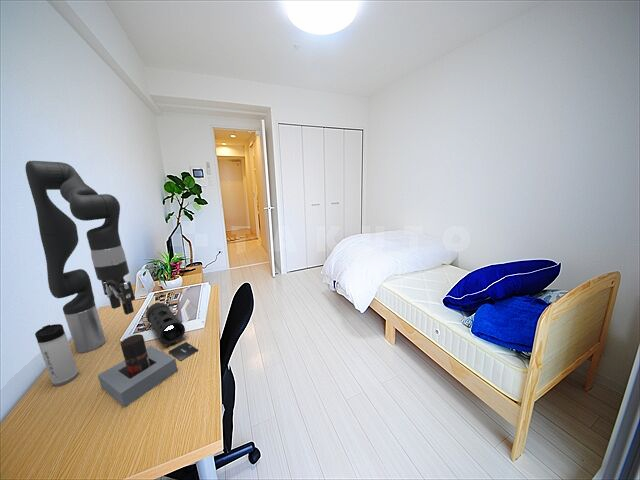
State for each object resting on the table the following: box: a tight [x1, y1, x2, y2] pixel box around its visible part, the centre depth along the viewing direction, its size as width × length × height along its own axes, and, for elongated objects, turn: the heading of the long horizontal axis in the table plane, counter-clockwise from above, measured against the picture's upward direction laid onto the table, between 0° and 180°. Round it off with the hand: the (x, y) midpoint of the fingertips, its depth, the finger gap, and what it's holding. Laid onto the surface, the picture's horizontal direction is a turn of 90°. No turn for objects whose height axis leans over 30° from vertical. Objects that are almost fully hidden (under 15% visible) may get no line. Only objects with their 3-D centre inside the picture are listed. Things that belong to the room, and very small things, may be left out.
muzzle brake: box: [145, 302, 186, 345], centre depth 108 cm, size 10×28×10 cm, turn 46°
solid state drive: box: [168, 341, 199, 362], centre depth 95 cm, size 7×10×1 cm
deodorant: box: [120, 333, 150, 379], centre depth 80 cm, size 6×6×15 cm
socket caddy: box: [97, 345, 179, 408], centre depth 81 cm, size 16×16×5 cm
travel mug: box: [34, 323, 79, 387], centre depth 81 cm, size 6×7×20 cm
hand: (122, 310), depth 76 cm, fingers open, 8 cm apart
